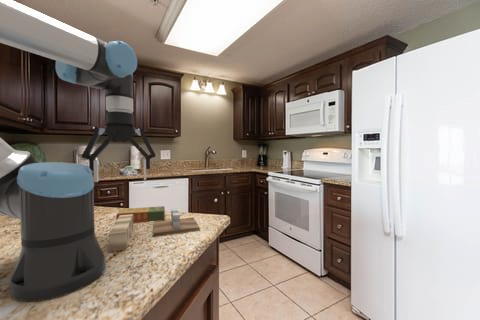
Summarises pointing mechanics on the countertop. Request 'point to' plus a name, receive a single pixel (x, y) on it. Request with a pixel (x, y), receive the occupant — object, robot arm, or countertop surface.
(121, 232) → the beam
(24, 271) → the robot arm
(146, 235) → the countertop surface
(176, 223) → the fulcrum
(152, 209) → the carton
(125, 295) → the countertop surface
